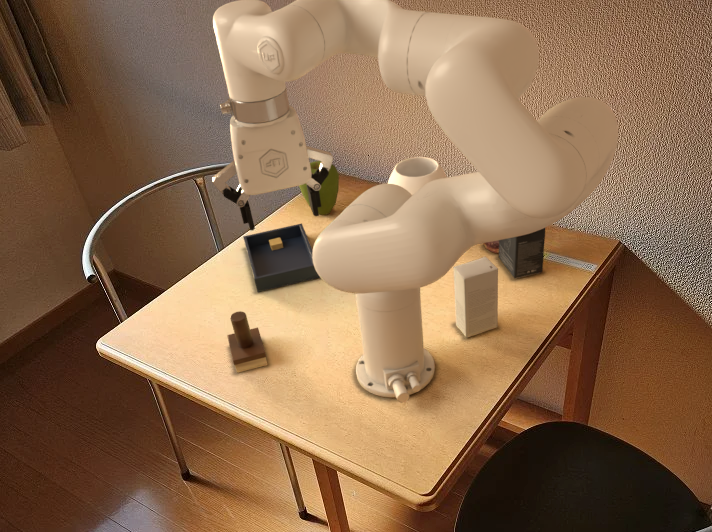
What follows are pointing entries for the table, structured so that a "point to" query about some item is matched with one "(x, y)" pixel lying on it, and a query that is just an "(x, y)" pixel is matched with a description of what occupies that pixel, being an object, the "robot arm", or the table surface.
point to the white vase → (416, 173)
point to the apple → (324, 189)
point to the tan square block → (276, 243)
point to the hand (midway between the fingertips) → (283, 218)
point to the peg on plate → (245, 344)
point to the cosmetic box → (476, 296)
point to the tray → (280, 258)
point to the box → (523, 253)
